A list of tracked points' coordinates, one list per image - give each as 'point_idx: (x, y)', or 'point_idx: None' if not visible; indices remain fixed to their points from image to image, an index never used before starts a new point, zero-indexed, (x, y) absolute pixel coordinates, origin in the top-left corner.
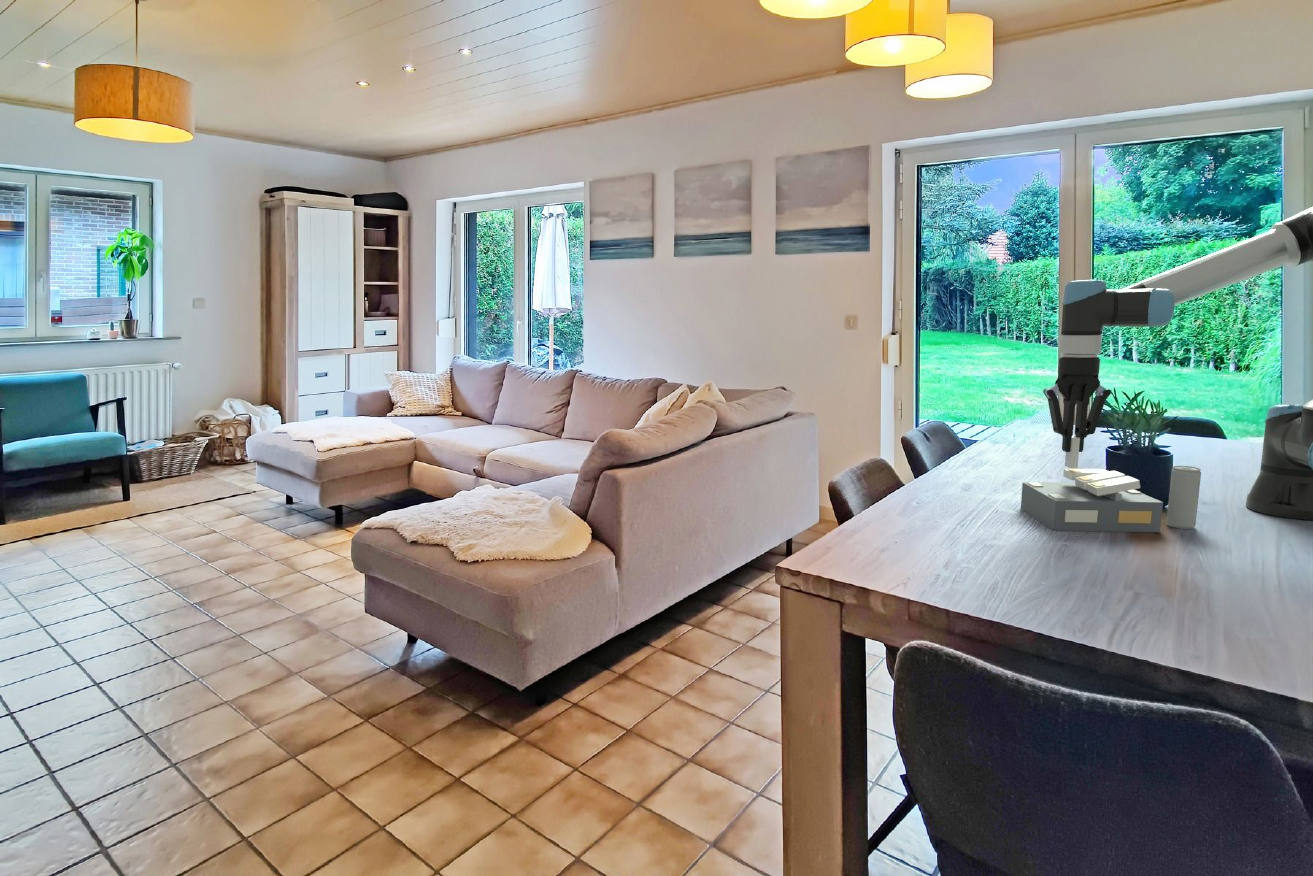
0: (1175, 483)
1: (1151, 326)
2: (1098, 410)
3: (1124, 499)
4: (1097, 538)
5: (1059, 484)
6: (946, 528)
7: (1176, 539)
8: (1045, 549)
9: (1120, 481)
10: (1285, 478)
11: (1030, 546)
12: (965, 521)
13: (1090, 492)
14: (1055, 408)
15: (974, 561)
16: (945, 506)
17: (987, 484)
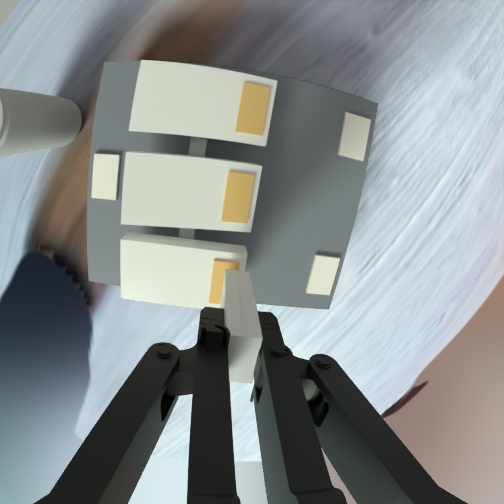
0: (30, 108)
1: None
2: (108, 446)
3: None
4: (292, 45)
5: (251, 280)
6: (485, 168)
7: (135, 31)
8: (414, 26)
9: (185, 88)
10: None
11: (428, 45)
12: (450, 201)
13: None
14: (402, 455)
15: (497, 35)
16: (422, 299)
17: None
